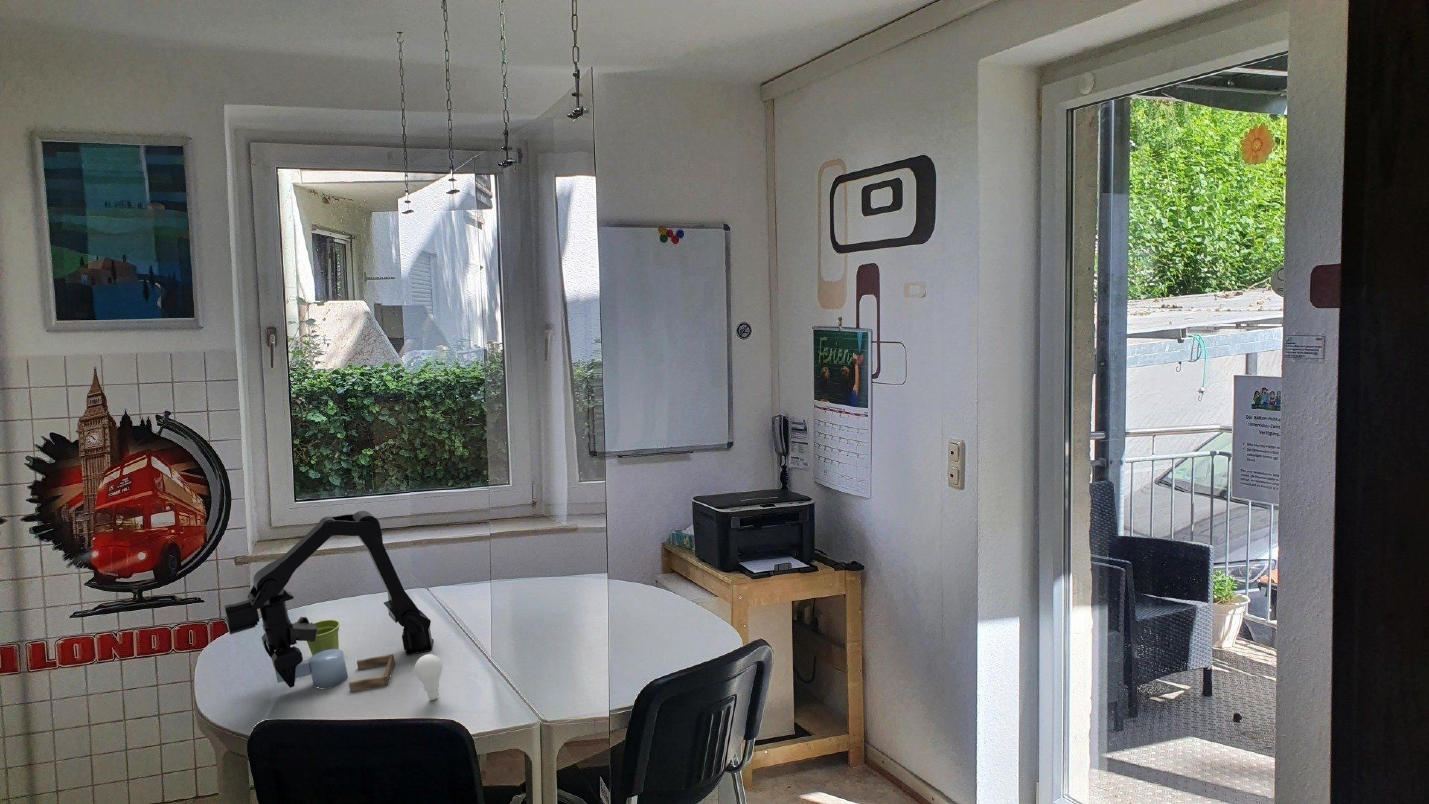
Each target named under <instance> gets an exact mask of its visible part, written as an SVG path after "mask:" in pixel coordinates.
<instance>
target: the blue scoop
mask: <svg viewBox="0 0 1429 804" xmlns="http://www.w3.org/2000/svg"><path fill="white" fill-rule="evenodd" d="M274 670H275V669H274ZM309 675H311V681H312V683H313V687H314V686H315V687H319V688H324V689H323V690H325V688H326V689H331V688H334V687H336V686H339V685H341V684H343V683H344V682H345V681H347V680H348V678H349V676H348V669H347V665H346V660H345V654H344V651H343V650H342V649H330V650H325V651H322V652H319V653H317V654H315V655H313V656H312V655H311V656H310V658H309V659H306V660H303V661H302V662H301V663H300V664H298V665H297V667H296V672H295V679H298V678H301V677H305V676H309ZM275 677H276V680H277V684H280V683H283V682H285V681H284V680H283V679H282V677H281V676H280V675H279V673H278V672H277V671H276V670H275ZM315 687H314V688H315Z"/></svg>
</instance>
